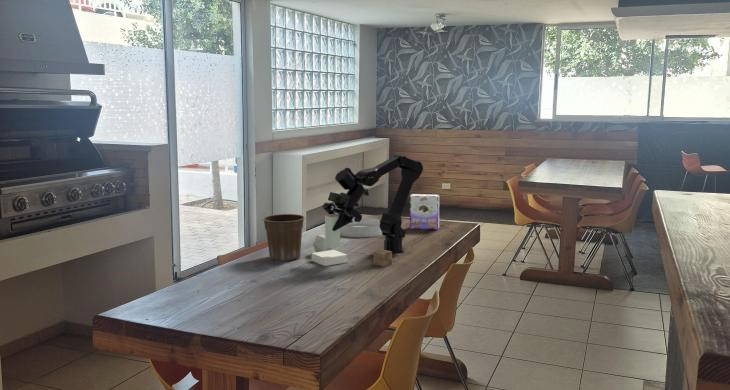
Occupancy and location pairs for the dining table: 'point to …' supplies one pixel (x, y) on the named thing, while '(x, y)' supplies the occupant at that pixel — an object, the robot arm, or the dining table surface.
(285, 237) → the plant pot
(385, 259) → the walnut cube
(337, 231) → the tea tin
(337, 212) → the robot arm
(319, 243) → the die
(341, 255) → the slab
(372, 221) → the dish
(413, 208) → the candy box
